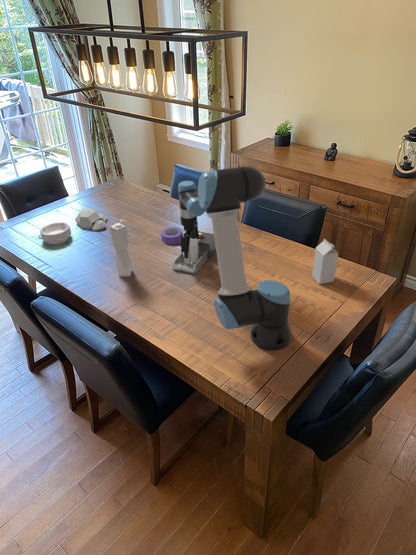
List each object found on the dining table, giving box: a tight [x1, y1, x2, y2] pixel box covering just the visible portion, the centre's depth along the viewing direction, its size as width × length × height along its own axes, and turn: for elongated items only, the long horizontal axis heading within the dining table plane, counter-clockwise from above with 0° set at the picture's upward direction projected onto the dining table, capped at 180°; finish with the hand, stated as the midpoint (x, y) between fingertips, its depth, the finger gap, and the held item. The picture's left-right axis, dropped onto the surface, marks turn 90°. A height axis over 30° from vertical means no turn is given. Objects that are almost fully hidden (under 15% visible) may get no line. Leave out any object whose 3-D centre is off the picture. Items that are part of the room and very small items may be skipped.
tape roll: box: [160, 226, 184, 245], centre depth 223 cm, size 12×12×5 cm
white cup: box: [183, 238, 198, 263], centre depth 199 cm, size 8×8×10 cm
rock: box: [74, 208, 108, 232], centre depth 238 cm, size 18×20×10 cm
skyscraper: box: [109, 219, 133, 277], centre depth 190 cm, size 8×8×28 cm
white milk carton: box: [311, 238, 339, 285], centre depth 184 cm, size 7×7×19 cm
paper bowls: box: [39, 221, 72, 245], centre depth 224 cm, size 15×15×8 cm
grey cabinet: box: [171, 230, 217, 275], centre depth 203 cm, size 26×14×11 cm, turn 157°
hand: (191, 258), depth 201 cm, fingers closed on white cup, 7 cm apart
